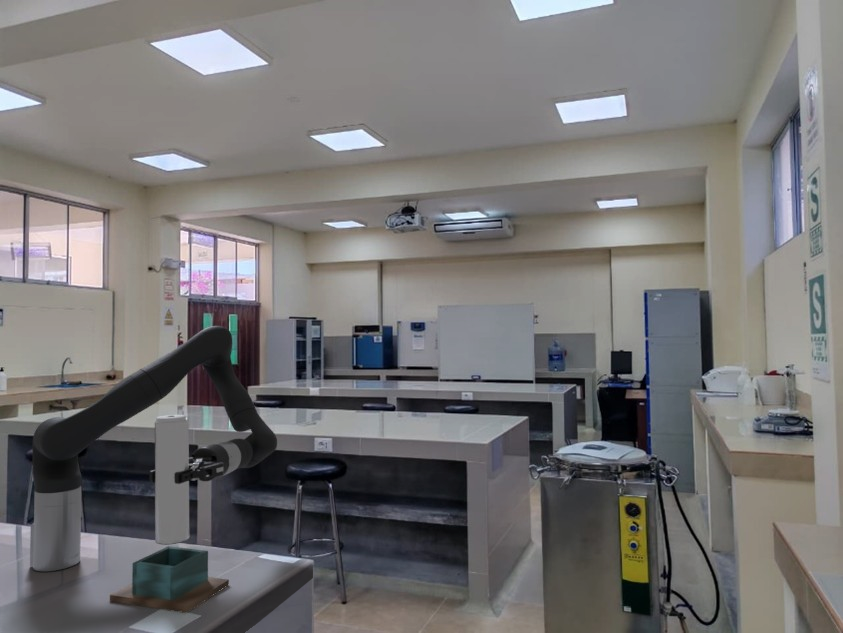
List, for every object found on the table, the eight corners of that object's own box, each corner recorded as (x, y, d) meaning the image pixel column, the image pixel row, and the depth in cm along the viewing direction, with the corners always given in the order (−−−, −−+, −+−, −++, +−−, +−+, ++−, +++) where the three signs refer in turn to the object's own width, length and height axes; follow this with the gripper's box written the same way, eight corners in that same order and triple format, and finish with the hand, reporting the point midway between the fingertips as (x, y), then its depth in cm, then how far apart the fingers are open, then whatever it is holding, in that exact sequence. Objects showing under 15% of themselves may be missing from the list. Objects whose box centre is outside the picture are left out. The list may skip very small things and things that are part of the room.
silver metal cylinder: (177, 545, 117) (176, 418, 118) (148, 544, 118) (147, 417, 119) (196, 534, 123) (195, 413, 124) (168, 533, 125) (167, 413, 125)
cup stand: (109, 601, 117) (110, 563, 117) (157, 575, 129) (157, 542, 129) (186, 612, 111) (187, 573, 112) (228, 585, 124) (228, 550, 124)
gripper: (189, 442, 137) (134, 457, 121) (243, 445, 133) (194, 460, 117) (189, 475, 137) (134, 494, 121) (243, 478, 133) (194, 499, 117)
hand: (164, 477), depth 119 cm, fingers closed on silver metal cylinder, 5 cm apart
